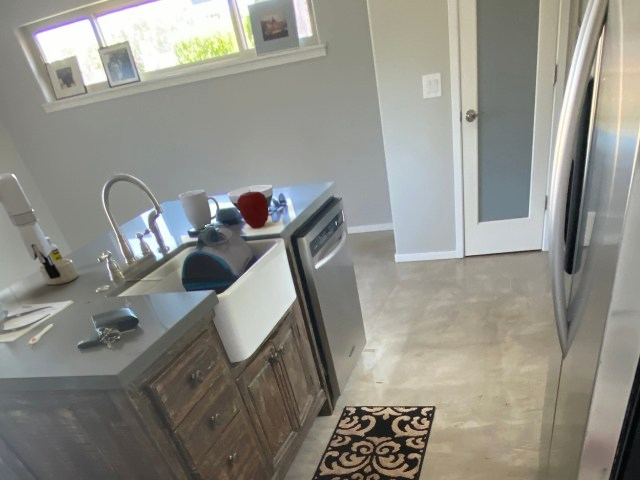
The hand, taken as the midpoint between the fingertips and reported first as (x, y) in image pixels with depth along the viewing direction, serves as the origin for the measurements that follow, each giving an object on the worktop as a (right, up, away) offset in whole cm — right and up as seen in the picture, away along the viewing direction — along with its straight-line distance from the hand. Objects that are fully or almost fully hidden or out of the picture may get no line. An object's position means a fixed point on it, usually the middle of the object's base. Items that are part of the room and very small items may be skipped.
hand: (55, 277), depth 180 cm
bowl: (+58, +51, +50) cm, 92 cm away
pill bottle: (-9, +10, +17) cm, 22 cm away
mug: (+37, +42, +44) cm, 71 cm away
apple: (+63, +35, +32) cm, 79 cm away
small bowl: (-2, +2, +8) cm, 8 cm away
